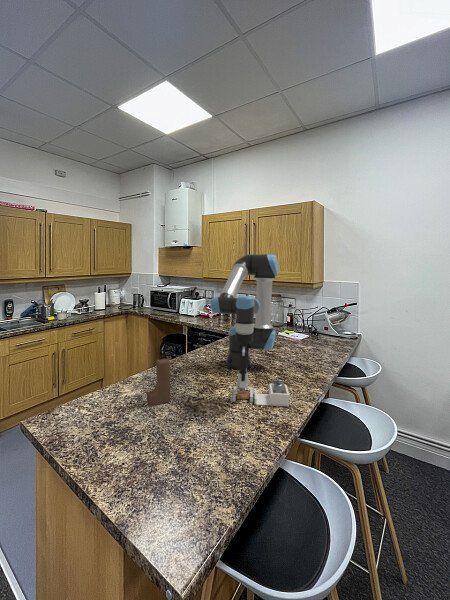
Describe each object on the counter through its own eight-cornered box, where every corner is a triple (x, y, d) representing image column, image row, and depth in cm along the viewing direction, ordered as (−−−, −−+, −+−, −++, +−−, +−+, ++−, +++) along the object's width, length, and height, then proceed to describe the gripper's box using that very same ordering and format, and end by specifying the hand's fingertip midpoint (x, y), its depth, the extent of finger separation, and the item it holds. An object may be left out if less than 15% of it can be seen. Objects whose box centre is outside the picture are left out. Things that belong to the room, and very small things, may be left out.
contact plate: (237, 395, 125) (237, 390, 125) (249, 396, 125) (249, 391, 124) (236, 399, 122) (236, 393, 122) (249, 399, 121) (249, 394, 121)
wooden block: (149, 407, 116) (148, 365, 114) (146, 402, 120) (145, 361, 118) (170, 401, 121) (169, 361, 119) (166, 397, 125) (166, 358, 123)
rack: (254, 396, 127) (254, 382, 126) (285, 398, 126) (286, 384, 125) (254, 407, 117) (254, 392, 116) (288, 409, 116) (289, 394, 115)
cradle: (233, 394, 128) (233, 386, 128) (252, 395, 127) (252, 387, 127) (232, 404, 119) (232, 395, 119) (252, 405, 119) (253, 396, 118)
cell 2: (273, 397, 123) (273, 379, 122) (283, 397, 123) (283, 380, 122) (273, 402, 119) (274, 384, 118) (284, 402, 118) (285, 384, 117)
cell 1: (238, 386, 125) (238, 368, 124) (247, 386, 124) (248, 369, 123) (237, 390, 120) (237, 372, 119) (247, 390, 120) (248, 372, 119)
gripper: (236, 327, 128) (235, 377, 131) (234, 337, 111) (233, 393, 114) (253, 328, 128) (251, 377, 130) (253, 337, 111) (251, 394, 113)
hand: (243, 385), depth 122 cm, fingers closed on cell 1, 4 cm apart
